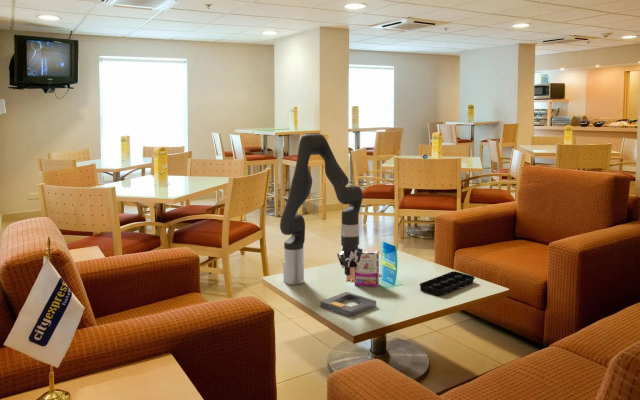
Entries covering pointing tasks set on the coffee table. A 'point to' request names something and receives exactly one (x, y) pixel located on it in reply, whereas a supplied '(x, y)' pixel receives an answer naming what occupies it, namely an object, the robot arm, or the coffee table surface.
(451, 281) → the egg carton
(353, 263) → the grandmother figurine
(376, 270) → the candy bar box
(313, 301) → the coffee table surface
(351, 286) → the coffee table surface
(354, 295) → the holder board
